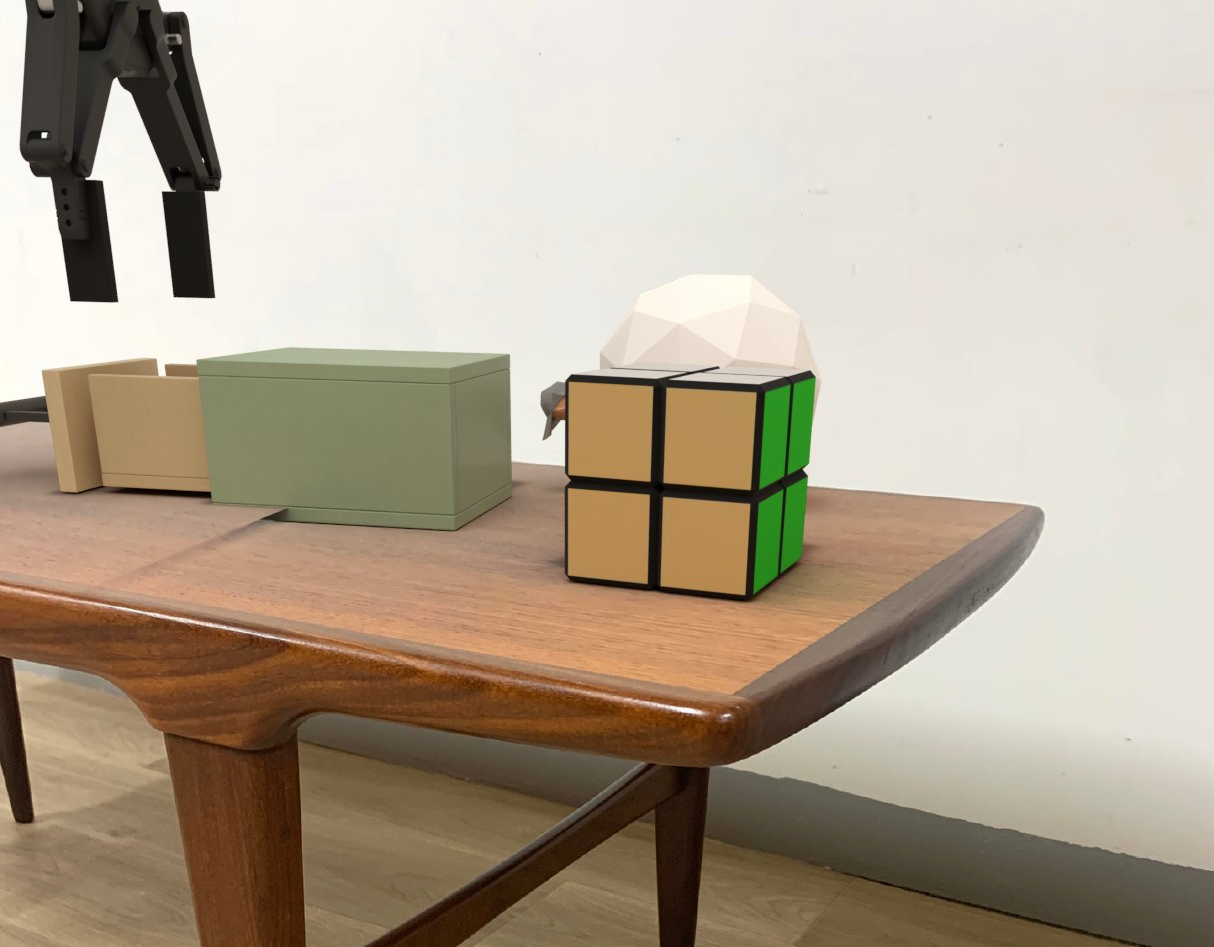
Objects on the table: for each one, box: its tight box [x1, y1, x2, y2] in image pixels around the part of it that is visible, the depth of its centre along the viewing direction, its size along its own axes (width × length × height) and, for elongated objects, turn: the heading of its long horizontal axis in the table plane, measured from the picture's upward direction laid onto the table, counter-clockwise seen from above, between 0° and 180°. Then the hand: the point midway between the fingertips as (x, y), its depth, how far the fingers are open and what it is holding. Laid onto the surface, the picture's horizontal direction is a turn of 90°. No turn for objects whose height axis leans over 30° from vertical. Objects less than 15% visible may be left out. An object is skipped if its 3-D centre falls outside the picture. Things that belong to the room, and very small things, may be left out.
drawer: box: [0, 357, 211, 494], centre depth 83 cm, size 21×12×7 cm, turn 78°
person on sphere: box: [539, 273, 822, 441], centre depth 84 cm, size 14×15×20 cm
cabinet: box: [195, 346, 513, 532], centre depth 80 cm, size 16×13×9 cm
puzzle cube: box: [564, 362, 816, 601], centre depth 64 cm, size 10×10×10 cm
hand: (147, 300), depth 80 cm, fingers open, 11 cm apart
